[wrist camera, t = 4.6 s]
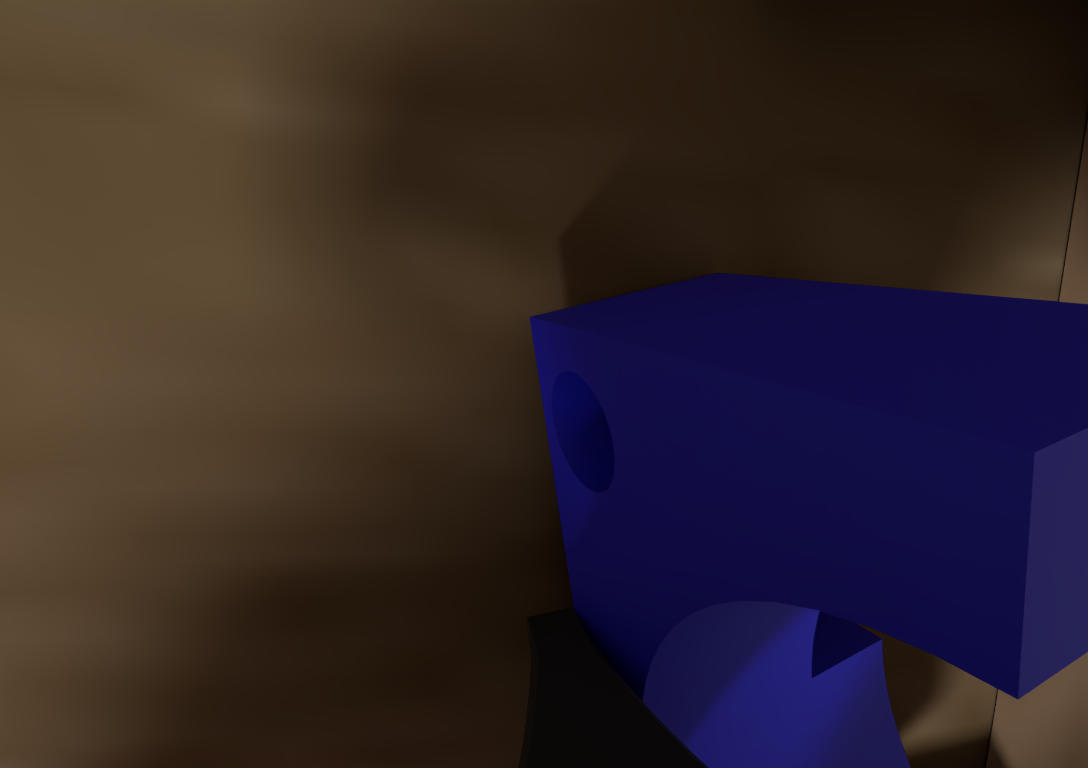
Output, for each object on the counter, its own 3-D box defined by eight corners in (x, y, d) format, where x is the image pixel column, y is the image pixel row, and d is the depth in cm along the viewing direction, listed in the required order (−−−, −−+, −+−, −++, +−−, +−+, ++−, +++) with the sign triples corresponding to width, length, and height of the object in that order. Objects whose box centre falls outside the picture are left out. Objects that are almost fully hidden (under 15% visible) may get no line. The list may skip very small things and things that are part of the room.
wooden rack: (1032, 831, 16) (1141, 951, 13) (754, 908, 15) (818, 1051, 12) (1232, -188, 9) (1517, -304, 7) (752, -158, 8) (888, -281, 6)
